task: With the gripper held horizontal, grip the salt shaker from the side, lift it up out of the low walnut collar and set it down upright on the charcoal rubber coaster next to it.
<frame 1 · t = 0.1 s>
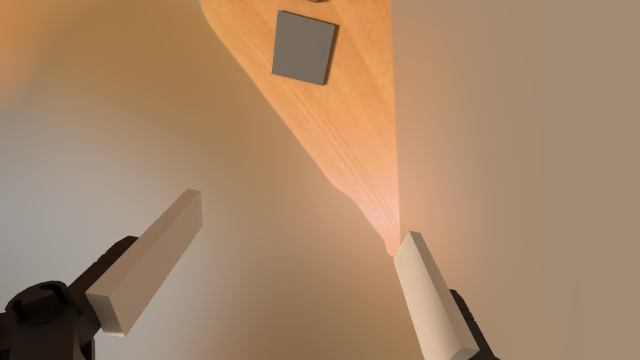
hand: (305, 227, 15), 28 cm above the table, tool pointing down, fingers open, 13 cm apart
charcoal coaster: (302, 50, 34), on the table
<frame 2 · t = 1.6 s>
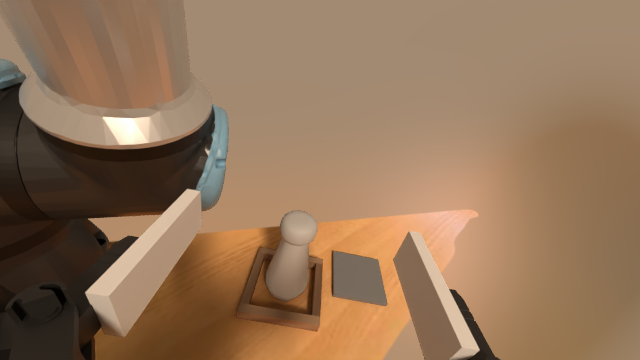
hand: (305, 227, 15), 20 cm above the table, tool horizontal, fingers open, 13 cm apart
walnut collar: (284, 287, 32), on the table
salt shaker: (284, 288, 33), resting in walnut collar
charcoal coaster: (357, 277, 37), on the table
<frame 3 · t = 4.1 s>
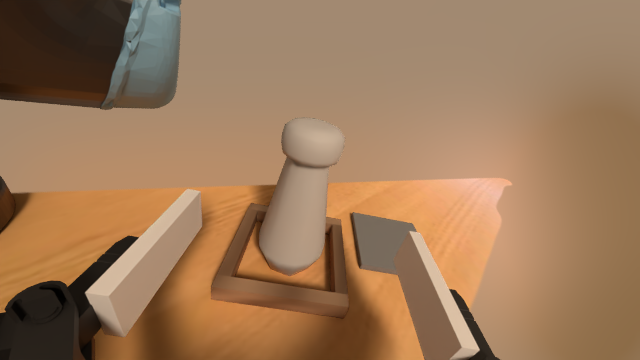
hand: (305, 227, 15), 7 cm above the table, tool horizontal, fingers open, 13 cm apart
walnut collar: (288, 256, 22), on the table
salt shaker: (288, 258, 22), resting in walnut collar
charcoal coaster: (389, 244, 26), on the table
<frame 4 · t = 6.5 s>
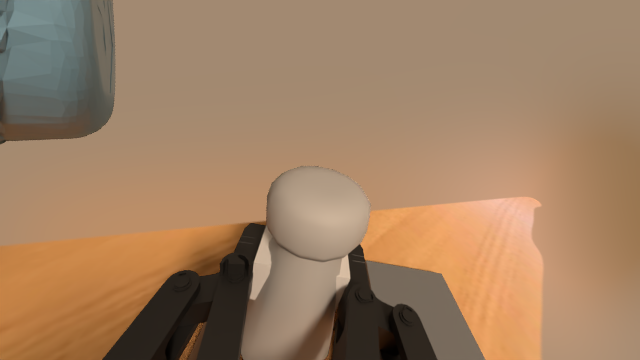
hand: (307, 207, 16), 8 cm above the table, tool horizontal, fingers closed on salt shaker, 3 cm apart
salt shaker: (281, 345, 16), resting in walnut collar, touching gripper
charcoal coaster: (415, 310, 20), on the table
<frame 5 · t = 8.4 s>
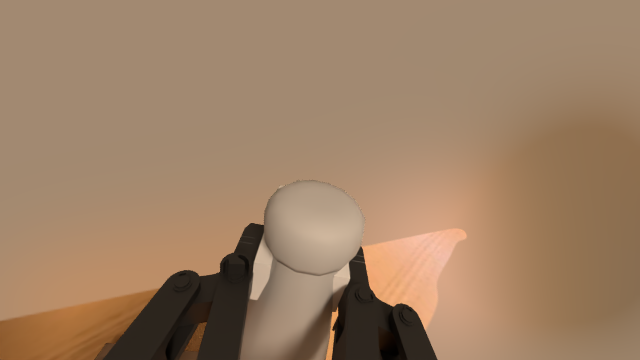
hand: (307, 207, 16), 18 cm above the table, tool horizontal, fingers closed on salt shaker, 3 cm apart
salt shaker: (279, 351, 16), point 10 cm above the table, touching gripper
when the fingers open (9 cm above the table, at t = 10.8 s): salt shaker stays where it is, resting on charcoal coaster.
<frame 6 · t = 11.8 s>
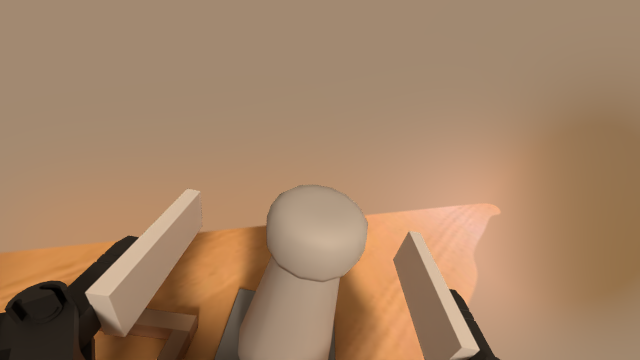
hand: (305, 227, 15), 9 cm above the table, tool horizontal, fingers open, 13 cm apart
salt shaker: (280, 354, 16), resting on charcoal coaster
charcoal coaster: (278, 354, 16), on the table
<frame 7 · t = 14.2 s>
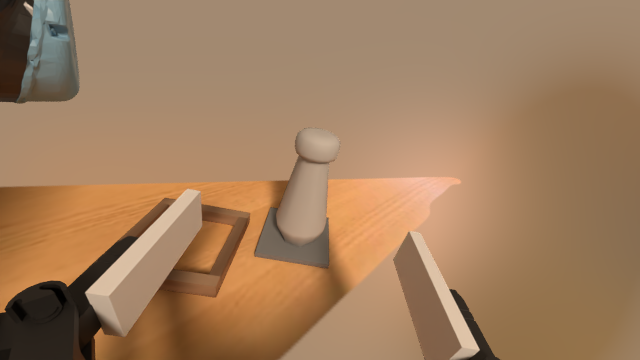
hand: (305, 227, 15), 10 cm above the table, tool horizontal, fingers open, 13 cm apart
walnut collar: (187, 245, 24), on the table
salt shaker: (297, 235, 28), resting on charcoal coaster
charcoal coaster: (295, 236, 28), on the table
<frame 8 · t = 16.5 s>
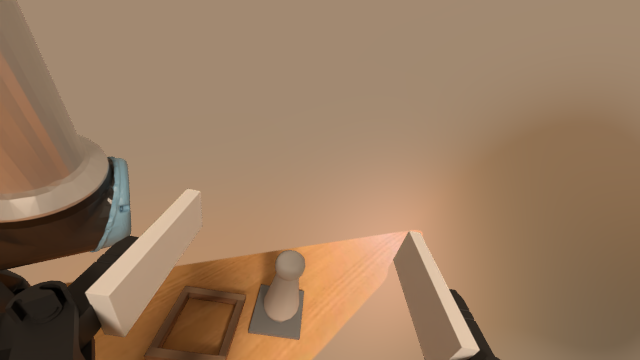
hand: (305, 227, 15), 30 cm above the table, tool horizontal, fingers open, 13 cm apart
walnut collar: (202, 326, 35), on the table
salt shaker: (279, 310, 39), resting on charcoal coaster
charcoal coaster: (278, 311, 39), on the table
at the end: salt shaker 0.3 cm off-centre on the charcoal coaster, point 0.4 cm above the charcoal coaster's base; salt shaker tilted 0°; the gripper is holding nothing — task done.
